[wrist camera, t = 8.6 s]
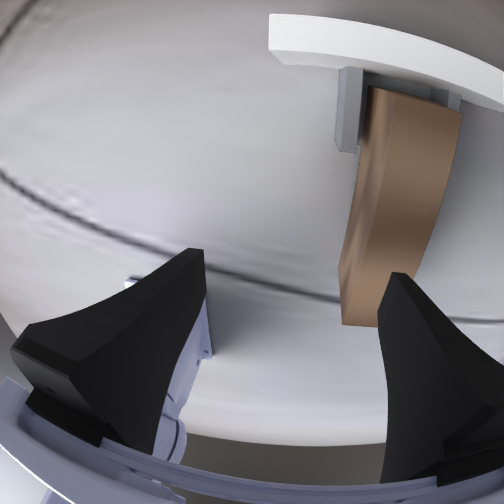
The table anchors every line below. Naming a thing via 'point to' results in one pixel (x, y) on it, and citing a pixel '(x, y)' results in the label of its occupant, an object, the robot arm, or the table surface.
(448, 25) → the table surface
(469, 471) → the robot arm
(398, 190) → the rail
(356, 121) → the bracket
